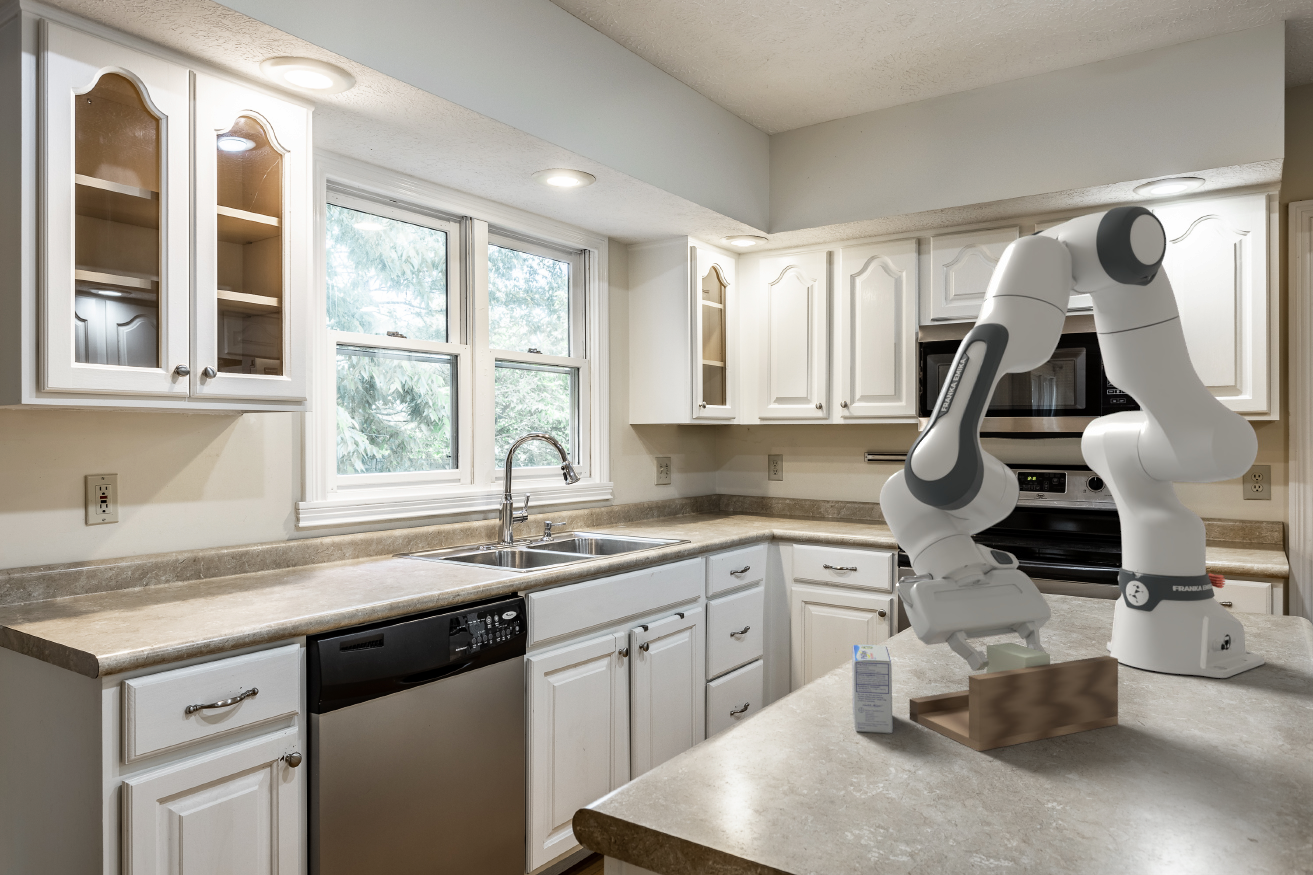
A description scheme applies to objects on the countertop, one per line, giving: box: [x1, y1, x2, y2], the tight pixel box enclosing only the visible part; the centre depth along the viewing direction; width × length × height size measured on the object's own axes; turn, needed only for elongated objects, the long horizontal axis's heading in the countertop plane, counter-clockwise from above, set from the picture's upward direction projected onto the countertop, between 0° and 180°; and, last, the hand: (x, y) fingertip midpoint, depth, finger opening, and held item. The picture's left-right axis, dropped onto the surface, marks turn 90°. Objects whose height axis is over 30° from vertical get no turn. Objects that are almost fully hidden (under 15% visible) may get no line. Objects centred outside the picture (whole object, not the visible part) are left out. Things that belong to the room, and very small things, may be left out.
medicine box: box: [851, 644, 894, 735], centre depth 102 cm, size 8×4×9 cm, turn 168°
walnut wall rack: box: [909, 655, 1119, 752], centre depth 102 cm, size 22×12×8 cm, turn 113°
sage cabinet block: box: [986, 642, 1051, 673], centre depth 101 cm, size 4×6×8 cm, turn 23°
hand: (1011, 663), depth 102 cm, fingers open, 8 cm apart
